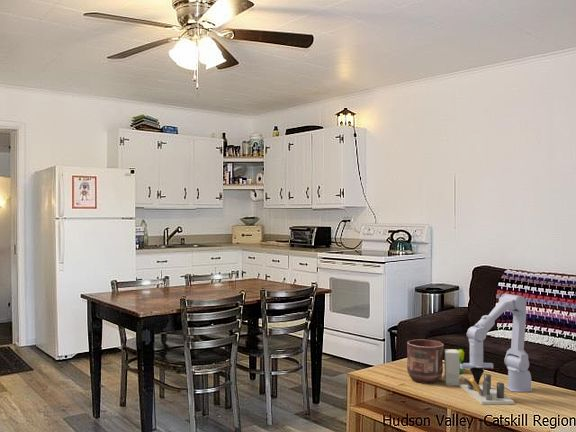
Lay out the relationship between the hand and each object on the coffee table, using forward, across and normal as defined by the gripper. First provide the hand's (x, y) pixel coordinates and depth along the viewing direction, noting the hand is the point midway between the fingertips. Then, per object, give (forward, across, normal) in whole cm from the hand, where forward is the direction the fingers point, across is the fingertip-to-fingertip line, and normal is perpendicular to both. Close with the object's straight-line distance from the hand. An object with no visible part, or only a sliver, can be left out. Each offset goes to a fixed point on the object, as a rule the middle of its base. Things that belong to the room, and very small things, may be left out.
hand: (476, 384), depth 240 cm
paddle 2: (+3, +1, -7) cm, 8 cm away
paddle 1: (+3, +1, +7) cm, 8 cm away
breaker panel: (+5, +4, 0) cm, 6 cm away
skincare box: (+5, -5, +18) cm, 19 cm away
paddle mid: (+3, +1, 0) cm, 3 cm away
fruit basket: (+5, +5, +39) cm, 40 cm away
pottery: (+5, -16, +24) cm, 29 cm away
